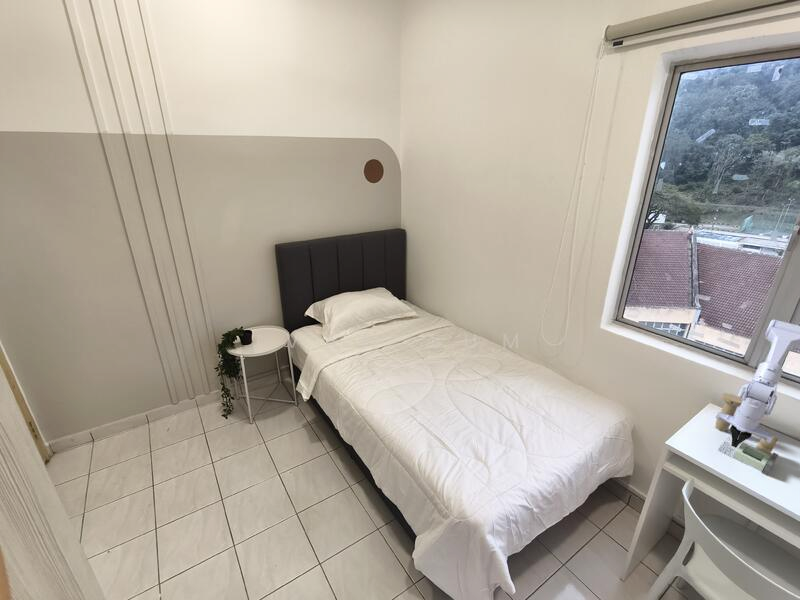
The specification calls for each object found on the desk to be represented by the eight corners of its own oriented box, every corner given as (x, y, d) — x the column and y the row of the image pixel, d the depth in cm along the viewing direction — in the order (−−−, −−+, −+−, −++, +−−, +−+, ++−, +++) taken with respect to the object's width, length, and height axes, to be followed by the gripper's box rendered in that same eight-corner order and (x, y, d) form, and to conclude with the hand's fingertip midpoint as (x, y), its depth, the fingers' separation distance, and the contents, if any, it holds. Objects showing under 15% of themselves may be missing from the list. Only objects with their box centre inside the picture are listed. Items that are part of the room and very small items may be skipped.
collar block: (740, 447, 130) (742, 442, 129) (767, 461, 124) (770, 455, 123) (733, 456, 126) (735, 451, 125) (761, 471, 120) (764, 465, 119)
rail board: (729, 436, 136) (734, 425, 134) (776, 458, 126) (782, 447, 125) (716, 452, 129) (721, 441, 127) (765, 477, 119) (771, 466, 117)
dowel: (756, 447, 130) (764, 432, 127) (770, 454, 127) (778, 438, 124) (753, 452, 128) (761, 436, 125) (767, 458, 125) (775, 442, 122)
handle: (729, 438, 135) (744, 405, 129) (707, 429, 139) (721, 396, 134) (731, 432, 138) (746, 399, 132) (710, 423, 143) (724, 391, 137)
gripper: (718, 406, 126) (705, 437, 131) (775, 431, 115) (758, 464, 120) (725, 399, 130) (712, 429, 135) (781, 422, 119) (764, 454, 124)
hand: (734, 445), depth 128 cm, fingers closed
